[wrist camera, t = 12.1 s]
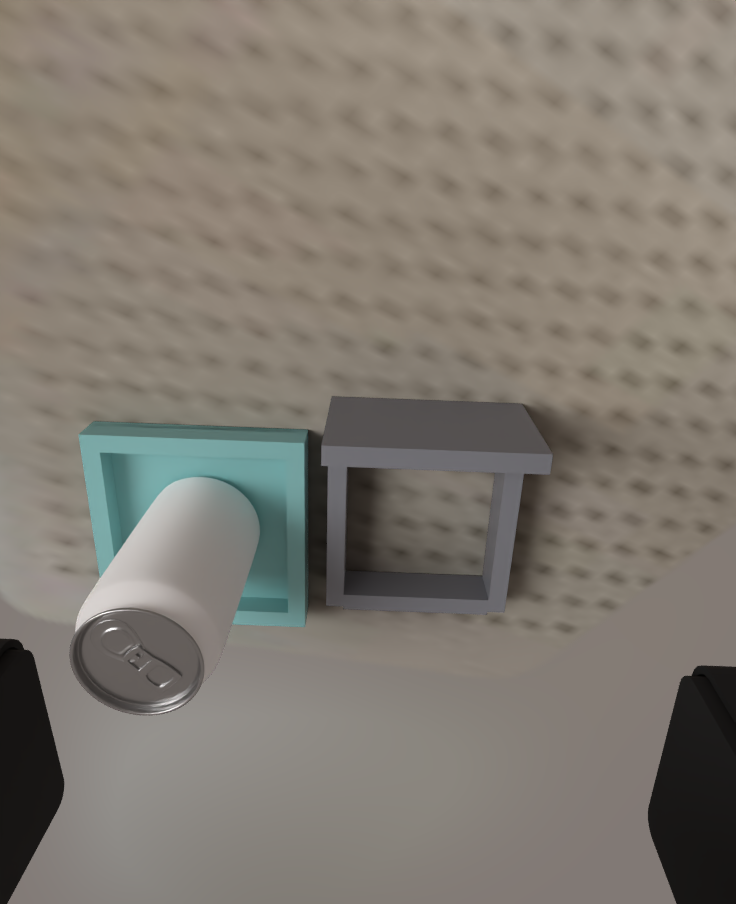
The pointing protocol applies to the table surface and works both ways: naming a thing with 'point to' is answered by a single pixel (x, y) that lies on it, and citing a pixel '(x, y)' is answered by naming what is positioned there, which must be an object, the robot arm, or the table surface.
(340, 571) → the bay
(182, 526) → the can
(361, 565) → the table surface
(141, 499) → the tray
